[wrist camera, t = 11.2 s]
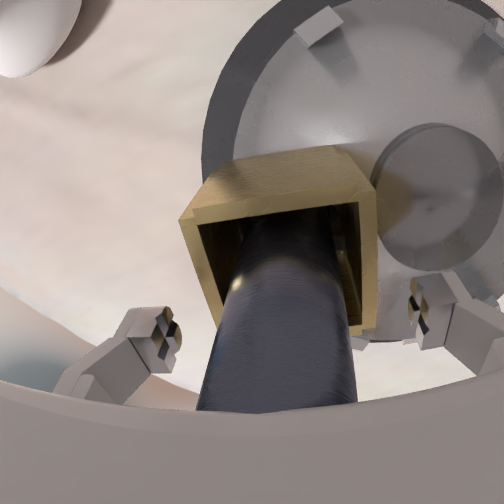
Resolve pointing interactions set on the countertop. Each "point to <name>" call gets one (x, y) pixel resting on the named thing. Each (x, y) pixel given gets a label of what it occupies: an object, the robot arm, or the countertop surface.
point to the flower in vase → (33, 33)
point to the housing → (250, 68)
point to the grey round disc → (372, 156)
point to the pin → (282, 321)
